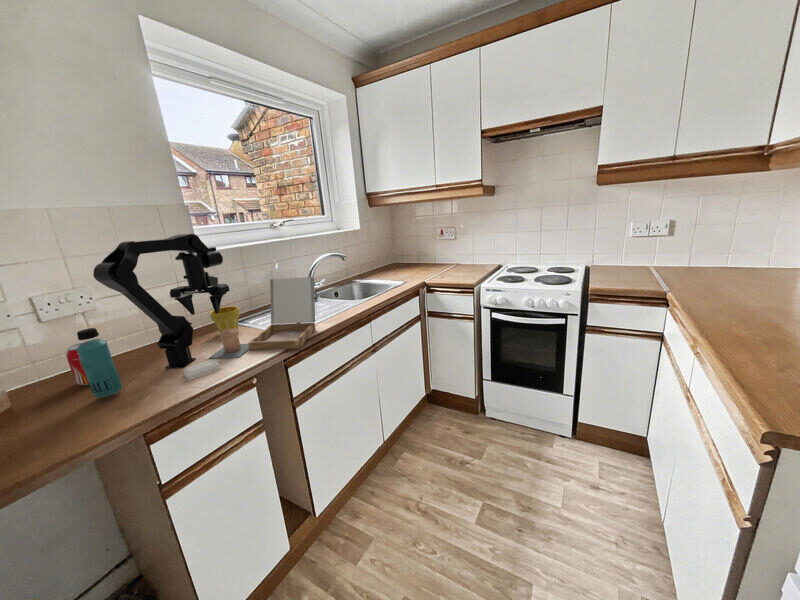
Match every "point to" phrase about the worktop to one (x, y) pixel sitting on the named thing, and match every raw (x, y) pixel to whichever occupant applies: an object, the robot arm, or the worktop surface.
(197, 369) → the soap bar
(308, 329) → the wooden tray
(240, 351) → the grey mat
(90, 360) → the beverage bottle
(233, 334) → the clay pot
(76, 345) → the soda can
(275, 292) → the lid
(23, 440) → the worktop surface
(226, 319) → the plant pot
